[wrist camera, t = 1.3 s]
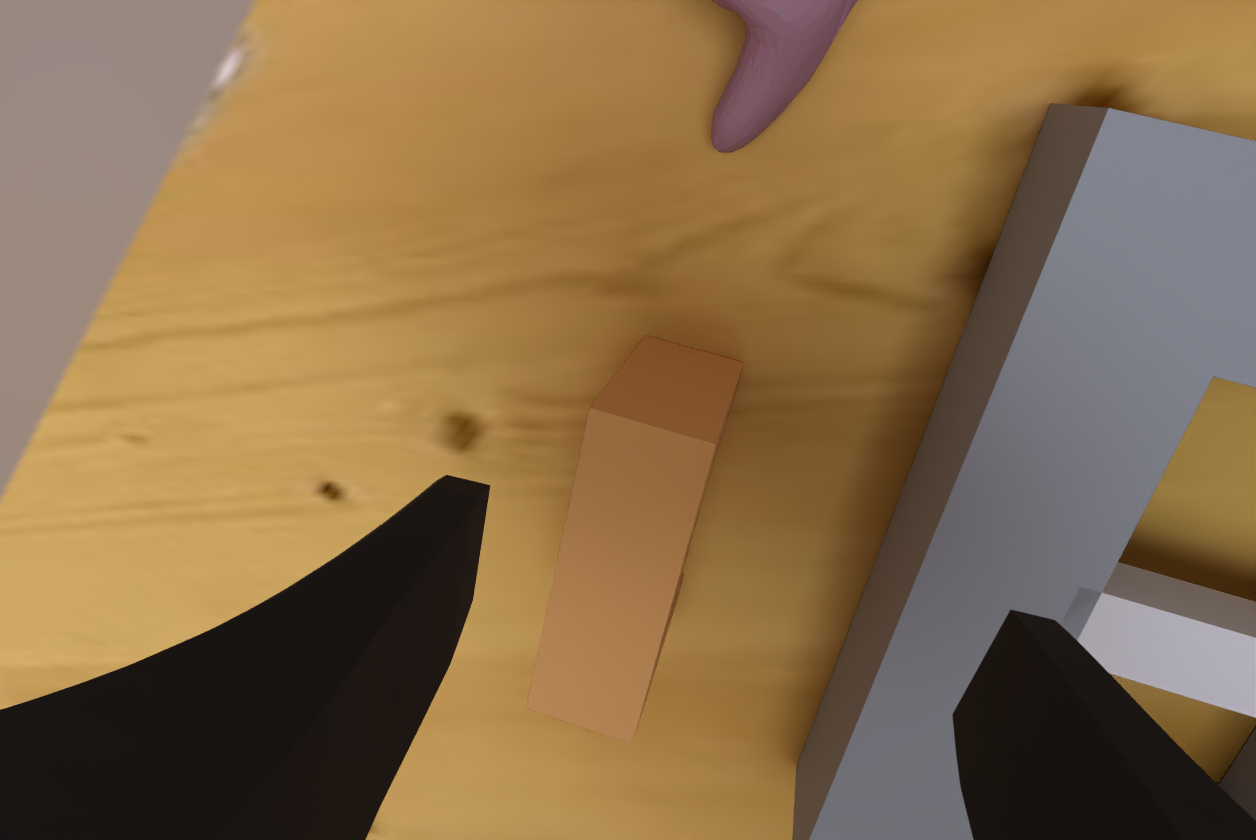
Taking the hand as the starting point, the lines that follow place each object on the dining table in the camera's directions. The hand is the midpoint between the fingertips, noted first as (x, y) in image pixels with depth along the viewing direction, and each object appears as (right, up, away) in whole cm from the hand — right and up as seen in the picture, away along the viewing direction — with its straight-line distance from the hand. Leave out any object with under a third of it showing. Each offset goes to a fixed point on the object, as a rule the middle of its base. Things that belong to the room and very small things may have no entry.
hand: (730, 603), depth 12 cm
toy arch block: (0, +1, +16) cm, 15 cm away
